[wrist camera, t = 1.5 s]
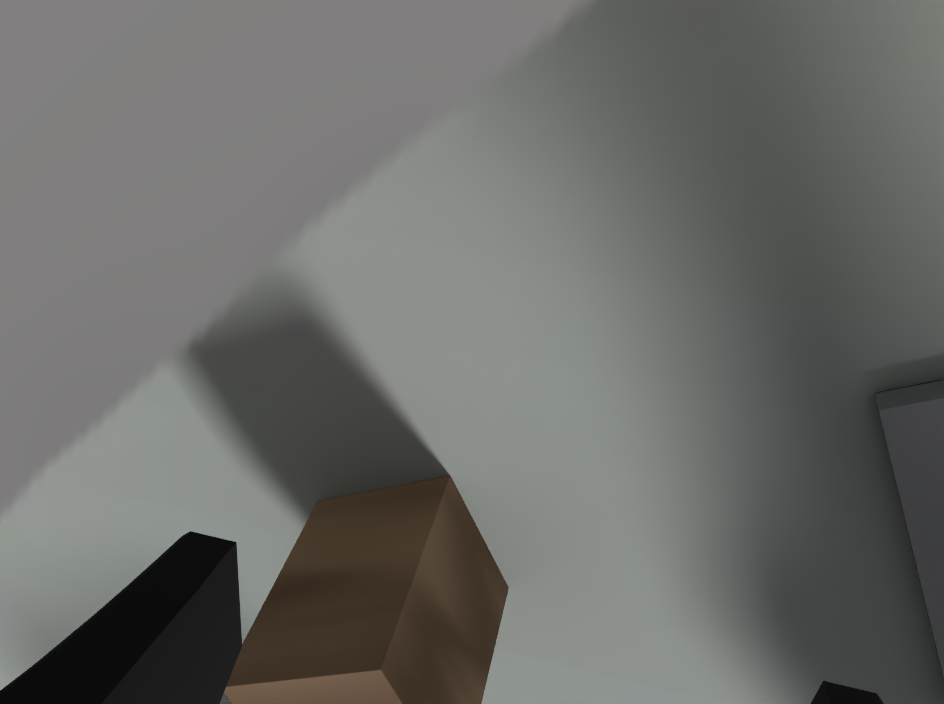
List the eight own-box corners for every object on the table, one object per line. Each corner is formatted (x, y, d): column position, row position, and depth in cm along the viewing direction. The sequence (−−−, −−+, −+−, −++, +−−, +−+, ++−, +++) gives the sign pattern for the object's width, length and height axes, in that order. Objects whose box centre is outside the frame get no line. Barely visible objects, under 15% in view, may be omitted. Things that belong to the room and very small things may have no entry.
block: (508, 587, 25) (459, 793, 20) (381, 605, 26) (306, 800, 21) (450, 474, 23) (380, 669, 18) (317, 500, 24) (219, 687, 19)
